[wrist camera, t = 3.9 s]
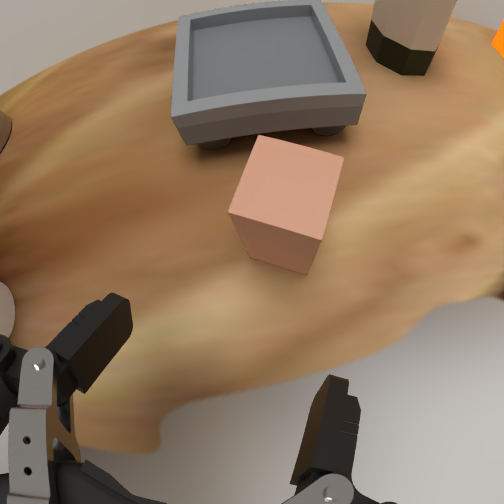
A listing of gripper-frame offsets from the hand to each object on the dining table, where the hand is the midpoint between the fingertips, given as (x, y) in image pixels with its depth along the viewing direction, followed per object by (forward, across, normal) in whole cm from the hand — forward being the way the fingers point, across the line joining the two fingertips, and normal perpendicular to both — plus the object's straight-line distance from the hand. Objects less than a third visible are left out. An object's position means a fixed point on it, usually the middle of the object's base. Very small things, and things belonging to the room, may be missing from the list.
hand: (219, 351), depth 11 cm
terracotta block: (+14, 0, +3) cm, 15 cm away
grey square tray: (+24, +6, -7) cm, 26 cm away
